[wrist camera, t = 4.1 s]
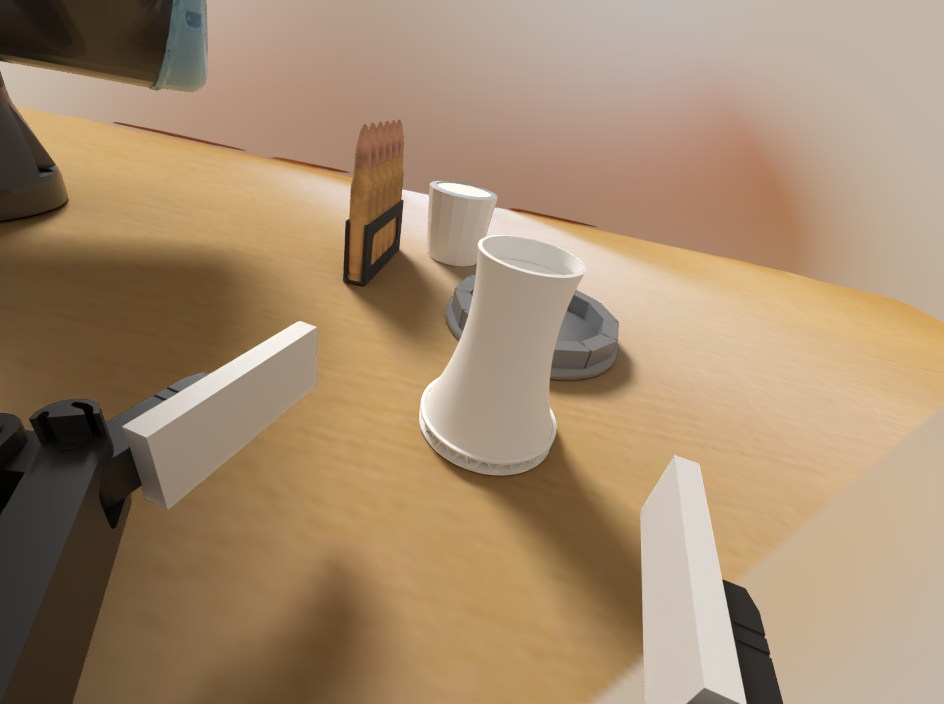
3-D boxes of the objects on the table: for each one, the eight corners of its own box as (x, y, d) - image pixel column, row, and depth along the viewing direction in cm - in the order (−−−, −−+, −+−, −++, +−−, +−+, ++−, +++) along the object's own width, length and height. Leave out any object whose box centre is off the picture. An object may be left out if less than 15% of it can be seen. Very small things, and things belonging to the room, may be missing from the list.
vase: (437, 485, 20) (479, 287, 14) (407, 385, 25) (429, 218, 20) (575, 467, 22) (653, 295, 17) (519, 380, 28) (565, 232, 23)
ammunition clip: (363, 287, 35) (373, 127, 29) (342, 282, 35) (347, 121, 29) (399, 249, 45) (412, 121, 38) (382, 245, 45) (392, 116, 38)
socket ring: (416, 338, 30) (420, 312, 29) (476, 277, 42) (480, 257, 41) (612, 405, 28) (624, 379, 26) (617, 321, 39) (626, 300, 38)
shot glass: (478, 249, 49) (491, 186, 46) (489, 272, 44) (504, 203, 40) (419, 240, 48) (427, 175, 44) (422, 263, 42) (432, 191, 39)
